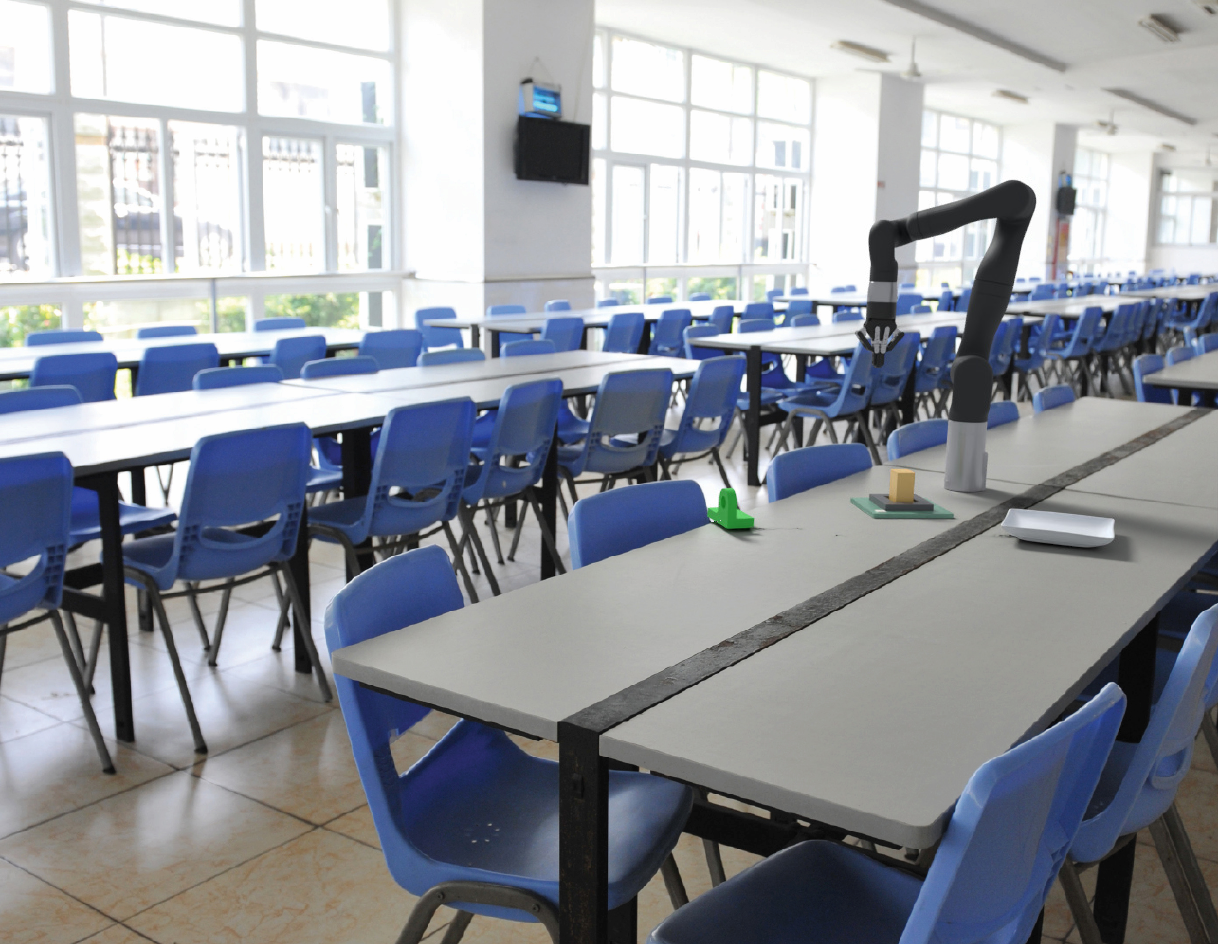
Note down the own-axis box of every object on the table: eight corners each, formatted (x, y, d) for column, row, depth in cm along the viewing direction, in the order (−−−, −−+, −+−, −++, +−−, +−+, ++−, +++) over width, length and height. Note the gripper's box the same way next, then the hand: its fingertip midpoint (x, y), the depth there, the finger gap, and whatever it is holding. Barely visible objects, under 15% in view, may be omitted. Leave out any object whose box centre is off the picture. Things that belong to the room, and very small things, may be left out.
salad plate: (1113, 532, 238) (1115, 516, 238) (1113, 553, 219) (1114, 536, 218) (1008, 522, 247) (1009, 506, 246) (998, 541, 227) (1000, 525, 227)
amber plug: (905, 503, 258) (907, 468, 256) (913, 507, 253) (915, 472, 252) (888, 503, 258) (890, 468, 256) (895, 507, 253) (897, 472, 251)
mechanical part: (754, 527, 236) (755, 490, 234) (727, 528, 234) (728, 490, 233) (733, 515, 247) (734, 479, 246) (707, 516, 245) (708, 480, 244)
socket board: (925, 502, 265) (925, 491, 265) (953, 518, 247) (954, 507, 247) (850, 501, 264) (850, 491, 263) (873, 518, 246) (874, 506, 246)
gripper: (902, 300, 292) (897, 367, 295) (852, 299, 291) (848, 366, 294) (912, 301, 285) (907, 369, 288) (861, 299, 284) (856, 368, 287)
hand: (877, 367), depth 291 cm, fingers closed
